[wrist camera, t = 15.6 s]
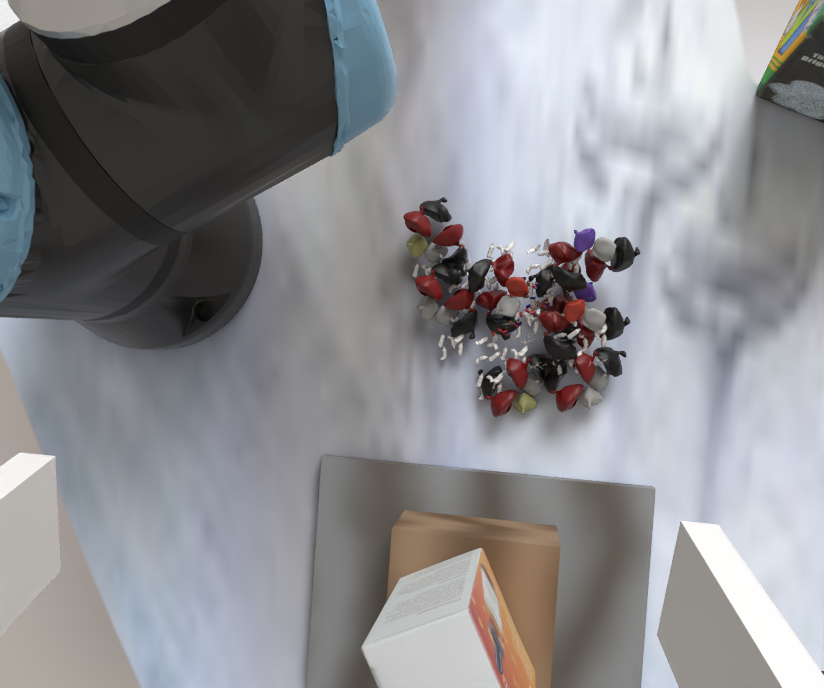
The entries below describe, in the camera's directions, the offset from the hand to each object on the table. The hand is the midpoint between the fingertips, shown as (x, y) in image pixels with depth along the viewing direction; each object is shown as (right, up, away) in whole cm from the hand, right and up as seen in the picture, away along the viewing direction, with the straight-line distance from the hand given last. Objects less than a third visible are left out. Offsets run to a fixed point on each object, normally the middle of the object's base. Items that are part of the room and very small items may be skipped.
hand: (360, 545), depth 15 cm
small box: (+4, -12, +28) cm, 31 cm away
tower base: (+5, -12, +34) cm, 36 cm away
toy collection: (+8, +7, +34) cm, 35 cm away
